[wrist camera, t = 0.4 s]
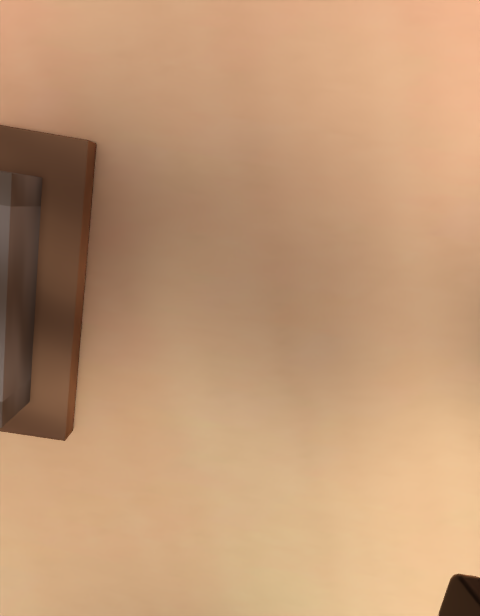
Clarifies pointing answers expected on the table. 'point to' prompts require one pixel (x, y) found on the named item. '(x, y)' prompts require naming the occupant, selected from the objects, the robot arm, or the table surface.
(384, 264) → the table surface
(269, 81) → the table surface
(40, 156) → the shaker holder
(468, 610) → the robot arm
